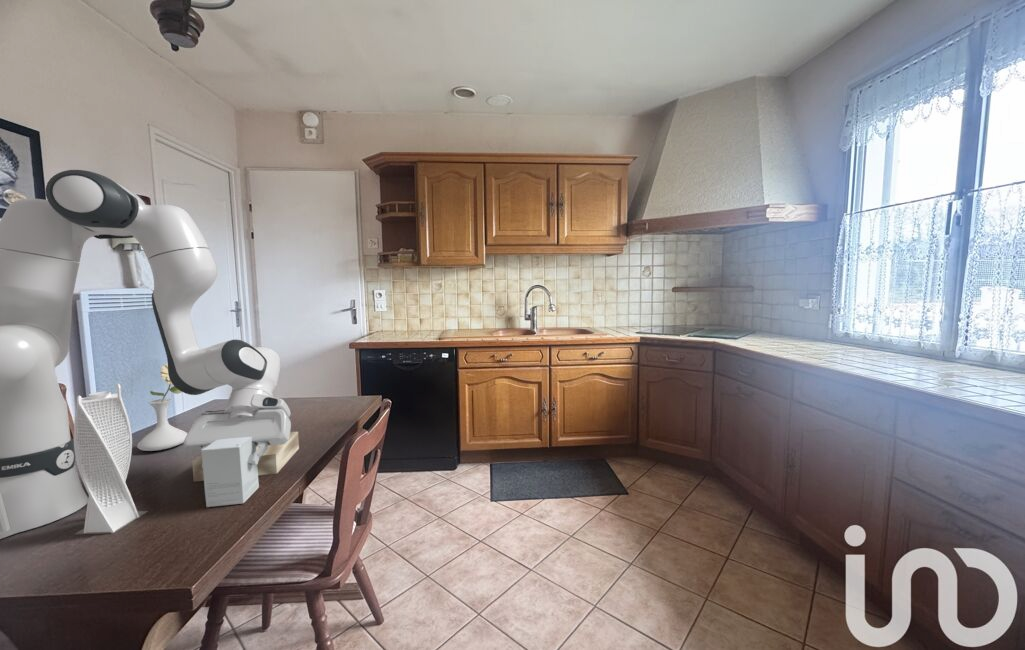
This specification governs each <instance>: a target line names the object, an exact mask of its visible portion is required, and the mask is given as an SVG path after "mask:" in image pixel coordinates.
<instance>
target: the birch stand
mask: <svg viewBox="0 0 1025 650" xmlns="http://www.w3.org/2000/svg"><path fill="white" fill-rule="evenodd" d="M299 444H300V442H299V431H290V436H289V440H288V441H287V442H286V443H285V444H283V445H270V446H268V449H267V451H266V452H265V453H264V454H263V455H262V456H261V457H260V458H259V461H258V464H257V469H258V477H259V476H266V475H267V476H268V475H277V474H279V472H280V471H281V470H282V468H283V467H285V465H286V464H287V463H288V462H289V460H290V459H291V458H292V457H293V456H294V455H295V454H296V453H297V451H298V450H299V449H300V445H299ZM258 448H259V447H258V446H257V447H256V451H257V450H258ZM191 465H192V475H193V476H192V477H193V482H204V476H203V468H202V455H199V456H198V457H196V458H195V459H193V460H192V461H191Z"/></svg>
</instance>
